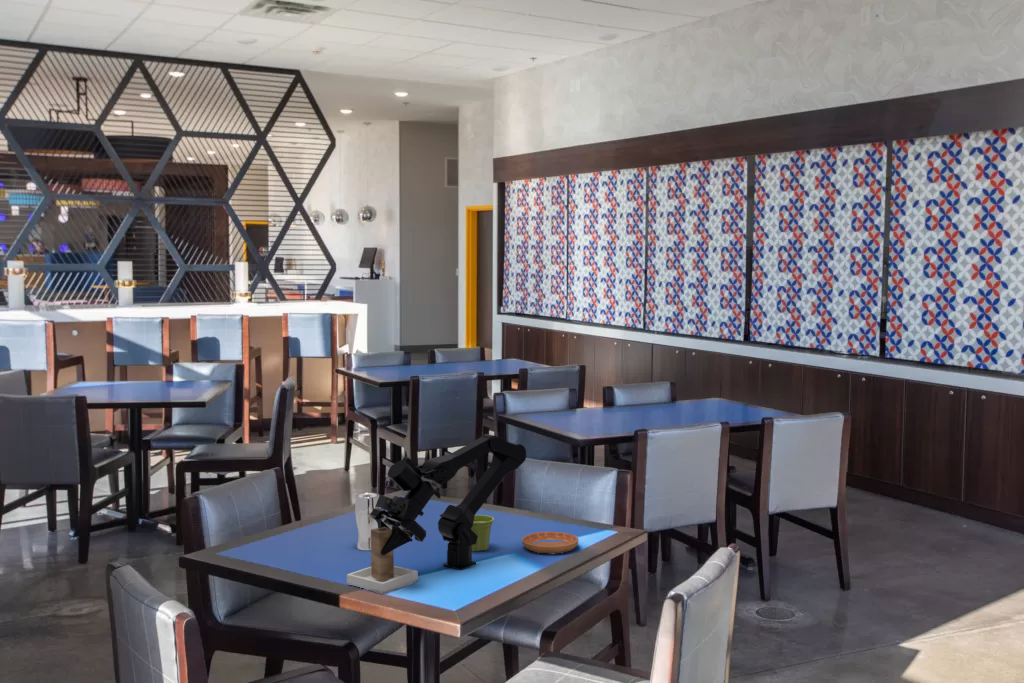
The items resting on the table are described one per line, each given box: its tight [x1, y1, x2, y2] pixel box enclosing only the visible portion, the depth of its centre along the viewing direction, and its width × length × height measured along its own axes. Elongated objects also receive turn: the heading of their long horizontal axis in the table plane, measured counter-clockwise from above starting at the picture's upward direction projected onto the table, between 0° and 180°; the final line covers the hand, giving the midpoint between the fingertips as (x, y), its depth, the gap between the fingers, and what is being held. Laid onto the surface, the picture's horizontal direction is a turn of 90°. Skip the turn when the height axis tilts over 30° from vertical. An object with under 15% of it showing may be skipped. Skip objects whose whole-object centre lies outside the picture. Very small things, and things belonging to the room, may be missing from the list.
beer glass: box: [354, 492, 381, 551], centre depth 270 cm, size 7×7×15 cm
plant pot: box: [471, 514, 495, 552], centre depth 269 cm, size 9×9×9 cm
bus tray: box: [346, 565, 419, 595], centre depth 238 cm, size 12×12×3 cm
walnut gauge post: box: [370, 527, 395, 581], centre depth 238 cm, size 4×4×12 cm
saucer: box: [521, 531, 580, 554], centre depth 270 cm, size 16×16×3 cm
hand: (377, 552), depth 237 cm, fingers closed on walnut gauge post, 4 cm apart
